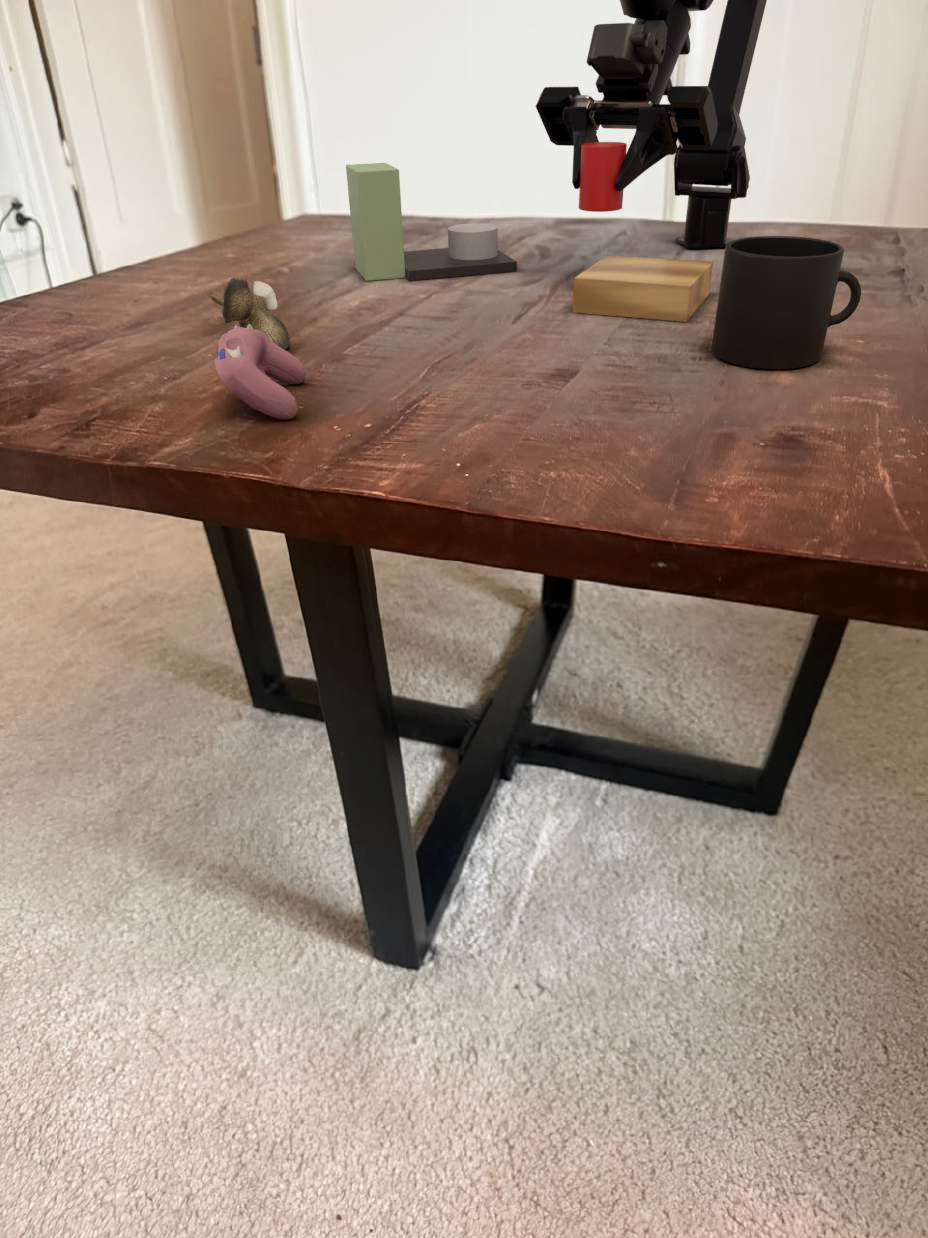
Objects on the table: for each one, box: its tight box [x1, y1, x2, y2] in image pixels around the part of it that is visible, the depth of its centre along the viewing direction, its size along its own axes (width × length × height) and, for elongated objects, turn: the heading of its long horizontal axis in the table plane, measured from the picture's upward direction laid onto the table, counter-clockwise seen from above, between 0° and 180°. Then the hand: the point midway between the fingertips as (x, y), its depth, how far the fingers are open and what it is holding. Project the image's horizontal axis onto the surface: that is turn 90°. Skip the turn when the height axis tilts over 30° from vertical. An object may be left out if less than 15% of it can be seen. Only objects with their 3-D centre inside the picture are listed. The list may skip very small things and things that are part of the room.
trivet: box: [572, 254, 714, 323], centre depth 90 cm, size 12×12×4 cm
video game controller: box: [214, 324, 307, 420], centre depth 67 cm, size 10×5×7 cm, turn 5°
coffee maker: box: [345, 162, 518, 282], centre depth 106 cm, size 19×12×12 cm, turn 106°
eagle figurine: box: [205, 277, 291, 350], centre depth 81 cm, size 8×7×9 cm
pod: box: [578, 141, 628, 213], centre depth 88 cm, size 5×5×6 cm
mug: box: [711, 235, 862, 370], centre depth 73 cm, size 9×12×9 cm
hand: (595, 187), depth 87 cm, fingers closed on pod, 4 cm apart
